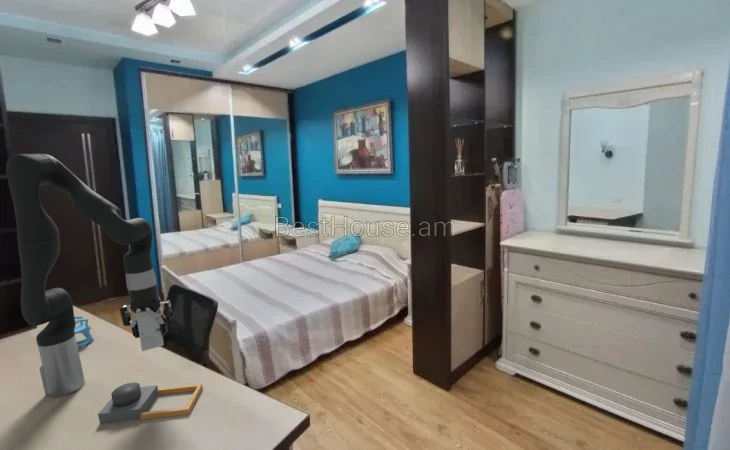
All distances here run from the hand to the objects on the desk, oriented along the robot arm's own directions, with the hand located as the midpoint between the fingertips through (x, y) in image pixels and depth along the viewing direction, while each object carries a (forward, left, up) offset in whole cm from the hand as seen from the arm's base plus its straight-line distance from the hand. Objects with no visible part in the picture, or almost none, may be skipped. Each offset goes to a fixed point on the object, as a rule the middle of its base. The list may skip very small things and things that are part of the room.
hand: (151, 335), depth 113 cm
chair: (-46, +38, -19) cm, 63 cm away
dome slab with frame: (+2, -8, -18) cm, 20 cm away
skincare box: (0, 0, -4) cm, 4 cm away
